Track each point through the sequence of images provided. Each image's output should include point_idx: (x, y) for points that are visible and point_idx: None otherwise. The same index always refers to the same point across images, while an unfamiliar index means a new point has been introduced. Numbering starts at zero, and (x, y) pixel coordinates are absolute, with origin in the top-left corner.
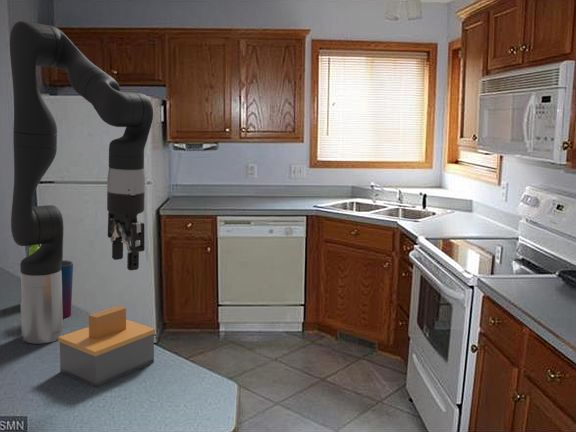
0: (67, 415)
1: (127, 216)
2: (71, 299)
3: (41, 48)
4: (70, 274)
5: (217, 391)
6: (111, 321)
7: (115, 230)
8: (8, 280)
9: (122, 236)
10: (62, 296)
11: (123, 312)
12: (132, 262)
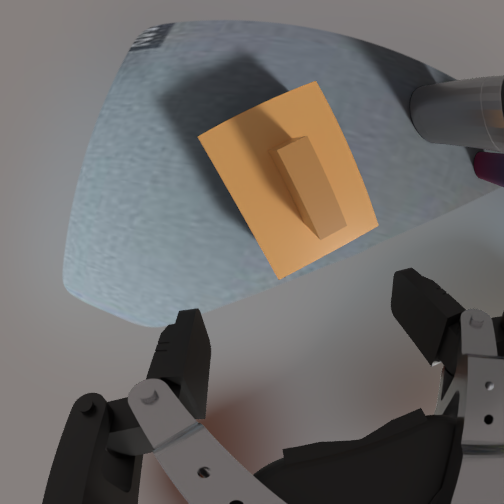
0: (135, 96)
1: None
2: (495, 183)
3: None
4: None
5: (139, 306)
6: (294, 192)
7: (459, 424)
8: None
9: (218, 475)
10: (498, 168)
11: (314, 229)
12: (156, 350)
